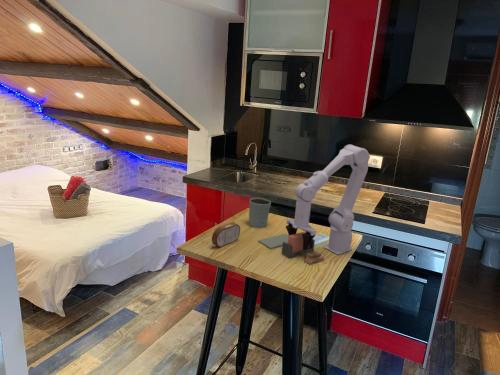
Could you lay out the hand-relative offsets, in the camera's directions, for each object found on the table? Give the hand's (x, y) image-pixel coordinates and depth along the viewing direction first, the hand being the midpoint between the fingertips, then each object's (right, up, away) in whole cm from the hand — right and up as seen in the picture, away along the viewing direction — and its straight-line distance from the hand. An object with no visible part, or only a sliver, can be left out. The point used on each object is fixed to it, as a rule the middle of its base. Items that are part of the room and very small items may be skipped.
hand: (298, 245), depth 150 cm
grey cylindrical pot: (-16, +6, +28) cm, 33 cm away
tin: (-30, 0, +4) cm, 30 cm away
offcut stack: (+5, -5, -6) cm, 9 cm away
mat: (-7, 0, +10) cm, 12 cm away
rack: (0, -3, +1) cm, 3 cm away
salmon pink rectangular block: (0, -3, +1) cm, 3 cm away
